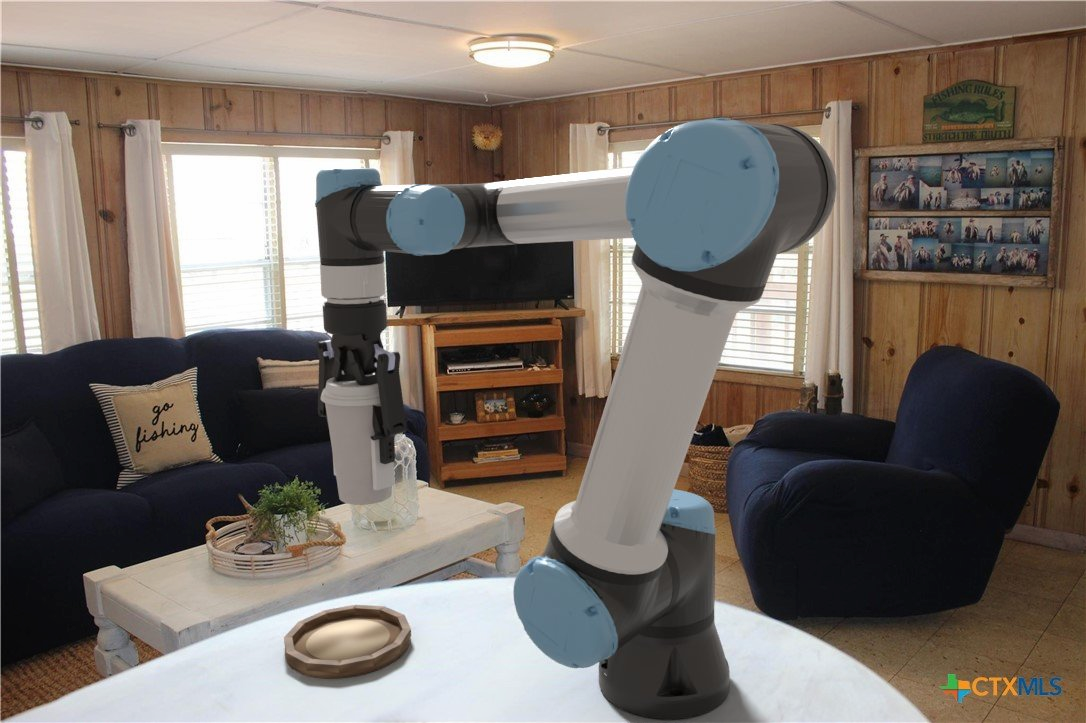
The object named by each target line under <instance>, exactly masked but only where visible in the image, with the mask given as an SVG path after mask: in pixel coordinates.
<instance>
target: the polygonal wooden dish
mask: <svg viewBox="0 0 1086 723" xmlns="http://www.w3.org/2000/svg"><path fill="white" fill-rule="evenodd" d="M411 637H412V628H411V626H410V624H409V622H408V619H407V617H406V615H405V614H403V613H401V612H399V611H396V610H394V609H392V608H389V607H387V606H383V605H370V604H369V605H368V604H367V605H366V604H352V605H346V606H342V607H341V606H340V607H336V608H334V607H333V608H330V609H324V610H322V611H319V612H317V613H315V614H313V615H311V616H309V617H306V618H304V619H302V620H300V621H297V623H296V624H295V625H294V626H293V627H291V629H290V630H289V631H288V632H287V633H286V634H285V635H284V636H283V640H284V641H283V642H284V656H285V661H286V663H287V665H288V666H289V667H290V669H292V670H294V671H295V672H297V673H299V674H301V675H304V676H307V677H311V678H318V679H330V680H331V679H345V678H347V679H348V678H353V677H359V676H363V675H367V674H370V673H373V672H376V671H378V670H379V671H380V670H381V669H383V668H385V667H388V666H389V665H391V664H393V663H394V662H396V661H397V660H398V659H400V658H401V657H402V656H403V655H404V654H405V653H406V652H407V651H408V648H409V647H410V644H411Z"/></svg>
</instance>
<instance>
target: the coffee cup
mask: <svg viewBox="0 0 1086 723" xmlns="http://www.w3.org/2000/svg"><path fill="white" fill-rule="evenodd" d="M373 375H375V372H374V373H373ZM368 376H372V375H368ZM321 401H322V402H324V403H325V406H326V413H327V419H328V423H327V426H328V430H329V438H330V443H331V452H332V460H333V459H334V465H335V472H336V476H335V479H336V484H337V491H338V497H339V498H338V500H340V501H341V502H342V503H344V504H348V505H354V506H366V505H373V504H377V503H378V504H379V503H382V502H385V501H386V500H388V499H390V497H391V496H392V493H393V486H390V487H387V488H384V489H381V490H378V491H377V490H374V489H373V475H372V456H371V436H374V435H375V432H374V429H373V425H372V419H373V405H375V406H381V404H380V396H379V389H378V383H377V384H373V385H368V386H367V385H364V386H360V385H358V384H357V382H356V380H355V381H339V382H337V379H336V378H334V377H333V378H330V379H328V380H327V383H326V387H325V388H324V389H323V392H322V394H321ZM327 419H326V420H327ZM382 427H383V428H384V426H382Z"/></svg>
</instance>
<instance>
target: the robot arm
mask: <svg viewBox="0 0 1086 723" xmlns="http://www.w3.org/2000/svg"><path fill="white" fill-rule="evenodd" d="M315 184H316V185H315V187H316V189H315V196H316V197H315V199H316V200H315V202H314V206H315V208H316V209H315V210H316V218H317V219H316V224H317V235H318V236H317V237H318V250H319V262H320V264H319V270H320V271H319V273H320V291H321V293H320V294H321V296H322V297H323V298H324V299H326V300H325V301H324V302H323V304H322V320H323V321H322V322H323V329H324V331H325V332H326V333H328V334H330V335H331V339H328V340H322V341H318V342H317V343H316V350H317V356H318V388H317V390H318V391H317V396H318V397H317V415H318V416H319V417H321V418H323V417H324V418H325V419H326V423H327V424H328V419H327V413H326V406H325V403H324V402H322V401H321V394H322V392H323V389H324V388H325V387H326V383H327V380H328V379H330V378H333V377H334V378H336V379H337V382H339V381H355V380H356V382H357V384H358V385H360V386H364V385H367V386H368V385H373V384H377V383H378V389H379V396H380V404H381V406H375V405H373V419H372V425H373V429H374V432H375V435H374V436H371V456H372V475H373V489H374V490H377V491H378V490H381V489H384V488H387V487H390V486H392V487H393V486H395V482H396V481H395V464H394V463H395V460H396V450H395V449H396V447H395V437H396V436H397V435H399V434H403V433H406V432H407V422H406V414H405V407H404V398H403V391H402V384H401V378H400V377H401V376H400V364H401V354H400V352H399V351H397V350H396V351H388V350H387V349H384V345H383V342H382V338H381V334H382V333H383V332H385V330H386V329H387V327H388V316H387V314H388V313H387V301H385V300H384V299H383V298H381V297H383V296H384V295H386V283H385V282H386V281H385V265H384V264H385V263H384V262H385V255H384V252H389V253H397V254H398V253H401V254H411V255H413V256H419V257H423V256H433V255H436V256H437V255H443V254H447V253H449V252H450V251H451V250H459V249H464V248H479V247H490V246H491V247H493V246H508V245H509V246H510V245H518V244H519V245H520V244H537V243H539V244H540V243H542V244H543V243H556V242H557V243H560V242H575V241H576V242H579V241H598V240H599V241H600V240H601V241H602V240H616V239H617V240H618V239H619V240H620V239H633V240H634V242H635V247H634V249H633V252H632V256H631V261H630V262H631V264H632V266H633V268H634V270H635V272H636V274H637V275H638V278H639V279H640V281H641V287H640V290H639V294H638V297H637V299H636V303H635V307H634V309H633V312H632V313H633V314H632V316H631V320H630V322H629V326H628V330H627V333H626V336H625V339H624V343H623V346H622V348H621V349H622V350H621V353H620V356H619V359H618V362H617V366H616V369H615V371H614V375H613V379H612V382H611V385H610V389H609V392H608V395H607V399H606V402H605V406H604V408H603V412H602V415H601V418H600V421H599V424H598V428H597V430H596V435H595V437H594V441H593V444H592V448H591V450H590V454H589V457H588V461H587V463H586V467H585V470H584V473H583V476H582V480H581V483H580V486H579V490H578V493H577V496H576V500H573V501H570V502H568V503H566V504H564V505H563V506H562V507H560V508H559V509H558V510H557V512H556V514H555V516H554V519H553V522H552V525H551V526H552V527H551V529H550V532H549V536H548V539H547V543H546V546H545V549H544V550H543V553H542V554H541V555H539V556H535V557H532V558H529V560H528V561H527V562H526V563H525V564H524V565H523V566H522V567H521V568H520V569H519V571H518V573H516V575H515V579H514V582H513V603H514V608H515V611H516V613H517V617H518V619H519V620H520V621H521V624H522V626H523V630H524V631H525V633H526V635H527V636H528V638H529V639H530V640H531V641H532V643H533V644H534V645H535V646H536V648H538V650H540V651H541V652H542V653H543V655H545V656H546V657H548V658H549V659H550V660H552V661H554V662H556V663H558V664H560V665H561V666H564V667H567V668H570V669H586V668H590V667H593V666H595V665H597V664H598V685H599V689H600V691H601V693H602V695H604V697H605V698H606V699H607V700H608V701H609V702H611V703H612V704H613V705H614V706H616V707H618V708H619V709H621V710H624V711H626V712H629V713H632V714H635V715H637V716H642V717H646V718H652V719H658V720H659V719H661V720H662V719H663V720H676V719H677V720H678V719H686V718H691V717H697V716H700V715H703V714H706V713H708V712H710V711H712V710H714V709H716V708H717V707H718V706H720V705H721V704H722V703H723V702H724V701H725V700H726V698H727V697H728V695H729V692H730V684H731V683H730V682H731V681H730V679H731V678H730V677H731V676H730V674H731V672H730V666H729V662H728V660H727V658H726V655H725V652H724V648H723V645H722V642H721V639H720V636H719V634H718V630H717V627H716V623H715V597H716V595H715V594H716V592H715V591H716V590H715V588H716V586H715V585H716V584H715V583H716V582H715V581H716V535H717V529H716V524H715V512H714V511H715V509H714V507H713V505H712V504H711V503H710V502H709V500H706V498H704V497H702V496H700V495H699V494H696V493H692V492H688V491H685V490H679V489H675V487H676V484H677V481H678V479H679V476H680V473H681V471H682V470H681V469H682V468H683V465H684V462H685V459H686V457H687V456H686V455H687V454H688V451H689V449H690V445H691V442H692V439H693V437H694V434H695V431H696V428H697V426H698V422H699V420H700V416H701V413H702V411H703V409H704V405H705V403H706V400H707V397H708V394H709V391H710V389H711V386H712V383H713V380H714V378H715V374H716V372H717V369H718V367H719V364H720V361H721V357H722V355H723V353H724V349H725V346H726V344H727V340H728V338H729V335H730V332H731V330H732V326H733V325H734V321H735V318H736V315H737V314H738V313H739V312H740V311H743V310H745V309H746V308H749V307H751V306H753V305H756V304H757V303H759V302H760V301H761V298H762V296H763V293H764V291H765V289H766V285H767V283H768V280H769V279H770V278H769V277H770V274H771V272H772V269H773V266H774V263H775V261H776V259H777V256H778V255H779V254H784V253H788V252H790V251H794V250H796V249H798V248H799V247H801V246H803V245H804V244H806V243H807V242H809V241H811V240H812V239H813V238H814V237H816V235H817V234H818V233H819V232H820V231H821V230H822V229H823V227H824V226H825V224H826V223H827V221H828V219H829V217H830V215H831V214H832V211H833V209H834V205H835V202H836V197H837V196H836V195H837V176H836V172H835V169H834V164H833V162H832V160H831V158H830V156H829V155H828V153H827V151H826V150H825V149H824V148H823V146H822V145H821V144H820V142H819V141H818V140H817V139H816V138H814V137H812V136H811V135H810V134H809V133H806V132H805V131H802V130H801V129H799V128H797V127H794V126H788V125H785V124H780V123H779V124H778V123H760V122H754V121H745V120H738V119H736V120H735V119H729V118H727V117H717V118H716V117H714V118H712V117H711V118H707V119H701V120H694V121H688V122H685V123H682V124H679V125H676V126H674V127H672V128H670V129H668V130H667V131H665V132H664V133H661V134H660V135H659V136H657V137H656V138H655V139H654V140H652V142H651V143H650V144H649V145H648V146H647V147H646V148H645V150H643V151H642V153H641V155H640V156H639V158H638V160H637V161H636V162H635V164H634V166H625V167H617V168H607V169H600V170H598V169H597V170H589V171H581V172H574V173H566V174H557V175H556V174H555V175H548V176H540V177H531V178H530V177H529V178H523V179H515V180H503V181H493V182H484V183H483V182H482V183H464V184H459V183H454V184H453V183H452V184H450V183H449V184H448V183H447V184H446V183H445V184H429V183H427V184H420V183H417V184H416V183H415V184H401V185H400V184H398V185H397V184H396V185H394V184H393V185H383V183H382V181H381V174H380V172H379V170H377V169H376V168H374V167H373V168H372V167H359V168H358V167H348V168H347V167H346V168H345V167H344V168H341V167H340V168H338V167H337V168H336V167H335V168H322V169H321V170H319V171H318V172H317V174H316V177H315ZM373 373H375V375H373ZM368 375H372V376H368ZM382 426H384V428H383V427H382ZM332 463H333V464H332V465H333V476H335V477H336V472H335V465H334V459H333V458H332Z"/></svg>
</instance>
